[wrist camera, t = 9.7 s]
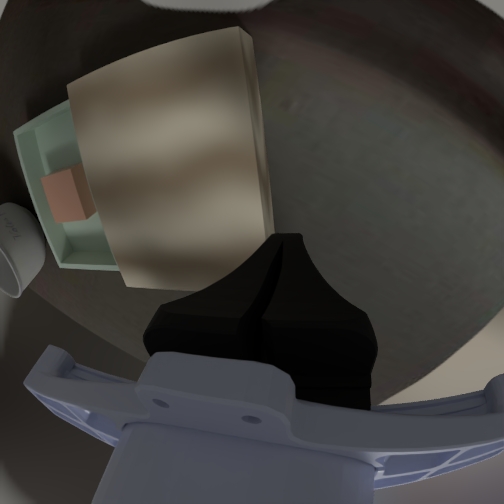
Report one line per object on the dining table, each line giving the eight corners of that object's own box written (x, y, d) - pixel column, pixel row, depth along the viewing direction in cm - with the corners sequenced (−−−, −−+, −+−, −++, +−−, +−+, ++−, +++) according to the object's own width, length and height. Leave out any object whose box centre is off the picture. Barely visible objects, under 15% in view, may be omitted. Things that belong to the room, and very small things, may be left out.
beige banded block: (277, 262, 24) (271, 293, 21) (146, 261, 27) (126, 286, 24) (252, 37, 15) (238, 26, 12) (99, 80, 18) (66, 85, 14)
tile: (55, 223, 24) (67, 214, 25) (86, 219, 23) (98, 210, 24) (40, 178, 21) (53, 170, 23) (70, 168, 20) (84, 161, 22)
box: (139, 253, 27) (124, 270, 24) (74, 253, 29) (59, 267, 27) (96, 92, 18) (73, 97, 16) (33, 124, 21) (13, 131, 18)
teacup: (49, 202, 26) (0, 238, 19) (63, 274, 32) (28, 313, 25) (-6, 184, 26) (-46, 210, 20) (8, 246, 32) (-24, 275, 26)
